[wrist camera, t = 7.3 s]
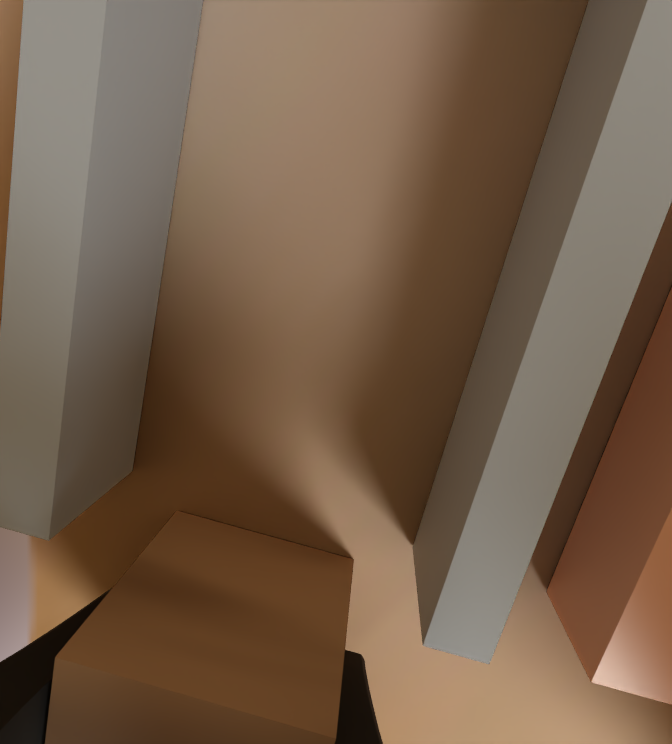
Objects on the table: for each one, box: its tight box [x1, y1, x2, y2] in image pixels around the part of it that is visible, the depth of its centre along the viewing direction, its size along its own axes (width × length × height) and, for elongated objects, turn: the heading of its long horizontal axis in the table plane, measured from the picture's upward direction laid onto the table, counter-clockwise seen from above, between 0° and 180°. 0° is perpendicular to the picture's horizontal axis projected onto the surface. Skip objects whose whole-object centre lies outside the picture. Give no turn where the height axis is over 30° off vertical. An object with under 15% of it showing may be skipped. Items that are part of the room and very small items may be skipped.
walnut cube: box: [45, 511, 354, 744], centre depth 10 cm, size 4×4×4 cm
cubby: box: [0, 0, 672, 664], centre depth 8 cm, size 15×9×3 cm, turn 167°
